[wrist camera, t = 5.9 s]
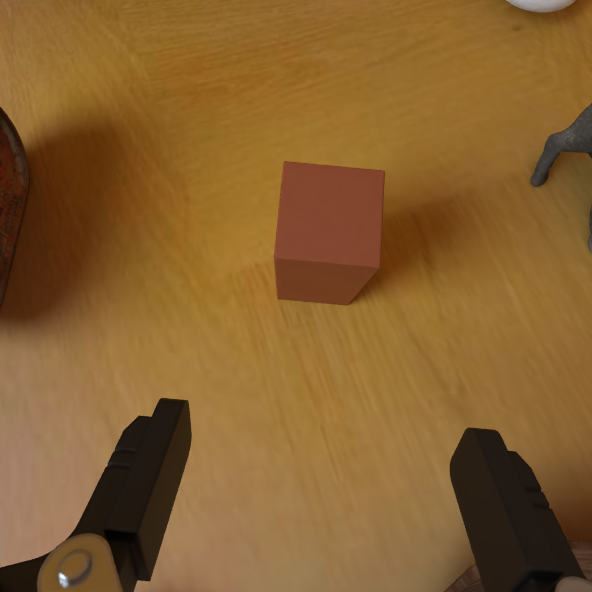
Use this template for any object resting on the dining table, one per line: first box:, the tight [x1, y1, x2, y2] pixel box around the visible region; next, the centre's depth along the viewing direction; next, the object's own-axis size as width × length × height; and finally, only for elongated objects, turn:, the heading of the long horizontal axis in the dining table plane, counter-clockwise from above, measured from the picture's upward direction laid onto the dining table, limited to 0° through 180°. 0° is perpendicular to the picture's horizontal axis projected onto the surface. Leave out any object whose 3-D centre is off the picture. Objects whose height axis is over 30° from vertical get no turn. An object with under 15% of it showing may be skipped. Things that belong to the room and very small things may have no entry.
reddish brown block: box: [274, 161, 385, 305], centre depth 22 cm, size 5×5×9 cm
